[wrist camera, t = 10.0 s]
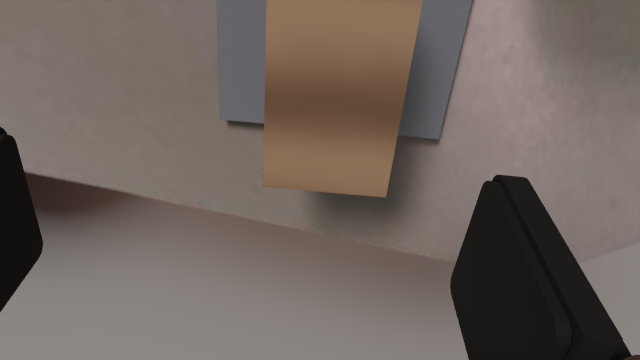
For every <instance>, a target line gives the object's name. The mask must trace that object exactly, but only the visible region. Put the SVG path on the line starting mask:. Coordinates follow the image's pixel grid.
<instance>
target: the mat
mask: <svg viewBox="0 0 640 360" xmlns="http://www.w3.org/2000/svg"><path fill="white" fill-rule="evenodd" d="M471 4H472V0H423V4H422V9H421V14H420V19H419V25H418V30H417V35H416V41H415V46H414V51H413V57H412V62H411V67H410V73H409V78H408V83H407V89H406V94H405V99H404V104H403V110H402V115H401V120H400V126H399V131H398V136H407V137H418V138H430V139H439V136H440V132H441V128H442V124H443V120H444V116H445V111H446V107H447V103H448V99H449V95H450V91H451V87H452V82H453V78H454V74H455V70H456V66H457V62H458V58H459V53H460V49H461V45H462V41H463V37H464V33H465V29H466V24H467V20H468V16H469V12H470V8H471ZM266 6H267V0H217V31H218V61H219V91H220V120H230V121H241V122H252V123H263V124H264V104H265V55H266Z"/></svg>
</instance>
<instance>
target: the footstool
mask: <svg viewBox="0 0 640 360" xmlns="http://www.w3.org/2000/svg"><path fill="white" fill-rule="evenodd" d="M422 4H423V0H267V6H266V55H265V104H264V153H263V187H272V188H283V189H294V190H306V191H317V192H328V193H340V194H351V195H362V196H374V197H385V198H386V195H387V189H388V184H389V179H390V174H391V168H392V163H393V158H394V152H395V147H396V142H397V136H398V131H399V126H400V120H401V115H402V110H403V104H404V99H405V94H406V89H407V83H408V78H409V73H410V67H411V62H412V57H413V51H414V46H415V41H416V35H417V30H418V25H419V19H420V14H421V9H422Z"/></svg>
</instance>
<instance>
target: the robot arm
mask: <svg viewBox="0 0 640 360" xmlns="http://www.w3.org/2000/svg"><path fill="white" fill-rule="evenodd" d="M42 247H43V241H42V236H41V233H40V229H39V225H38V221H37V218H36V214H35V210H34V207H33V203H32V199H31V196H30V192H29V188H28V185H27V181H26V178H25V173H24V170H23V166H22V162H21V159H20V155H19V151H18V148H17V144H16V141H15V139H14V138H13V137H12V136H11V135H7V133H6V131H5V130H4V129H3V128H1V127H0V312H1V310H2V309H3V308H4V306H5V305H6V303H7V302H8V301H9V299H10V298H11V296H12V295H13V294H14V292H15V291H16V289H17V288H18V287H19V285H20V284H21V282H22V281H23V280H24V278H25V277H26V275H27V274H28V273H29V271H30V270H31V268H32V267H33V266H34V264H35V263H36V261H37V260H38V258H39V257H40V255H41V252H42ZM450 286H451V287H450V288H451V295H452V299H453V302H454V306H455V310H456V313H457V317H458V321H459V325H460V328H461V332H462V336H463V339H464V343H465V347H466V351H467V354H468V358H469V360H640V355H633V356H632V355H631V354H630V352H629V350H628V349H627V347H626V345H625V343H624V342H623V339H622V337H621V335H620V334H619V332H618V330H617V328H616V327H615V325H614V323H613V322H612V320H611V318H610V317H609V315H608V313H607V312H606V310H605V308H604V307H603V305H602V303H601V302H600V300H599V298H598V297H597V295H596V293H595V291H594V290H593V288H592V287H591V285H590V283H589V281H588V280H587V278H586V276H585V275H584V273H583V271H582V270H581V268H580V266H579V264H578V263H577V261H576V259H575V258H574V256H573V254H572V253H571V251H570V249H569V248H568V246H567V244H566V243H565V241H564V239H563V237H562V236H561V234H560V232H559V231H558V229H557V227H556V226H555V224H554V222H553V221H552V219H551V217H550V216H549V214H548V212H547V211H546V209H545V207H544V205H543V204H542V202H541V200H540V199H539V197H538V195H537V194H536V192H535V190H534V189H533V187H532V185H531V184H530V182H529V180H528V179H527V178H524V177H516V176H505V175H496V176H495V177H494V178H493V180H492V181H486V182H485V183H484V184H483V186H482V188H481V191H480V194H479V197H478V200H477V203H476V206H475V209H474V212H473V215H472V218H471V221H470V224H469V227H468V229H467V232H466V235H465V238H464V241H463V244H462V247H461V250H460V253H459V256H458V259H457V262H456V265H455V268H454V270H453V273H452V277H451V285H450Z"/></svg>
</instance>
